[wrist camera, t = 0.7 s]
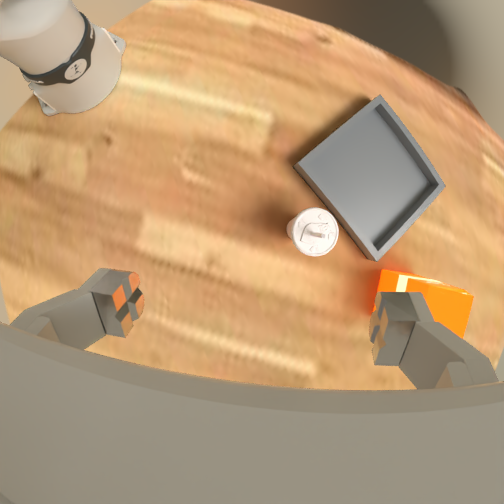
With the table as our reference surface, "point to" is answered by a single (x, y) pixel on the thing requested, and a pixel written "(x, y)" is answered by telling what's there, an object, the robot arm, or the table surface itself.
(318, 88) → the table surface
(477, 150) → the table surface
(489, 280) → the table surface
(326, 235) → the smoothie
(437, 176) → the tray
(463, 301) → the orange juice
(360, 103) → the table surface
